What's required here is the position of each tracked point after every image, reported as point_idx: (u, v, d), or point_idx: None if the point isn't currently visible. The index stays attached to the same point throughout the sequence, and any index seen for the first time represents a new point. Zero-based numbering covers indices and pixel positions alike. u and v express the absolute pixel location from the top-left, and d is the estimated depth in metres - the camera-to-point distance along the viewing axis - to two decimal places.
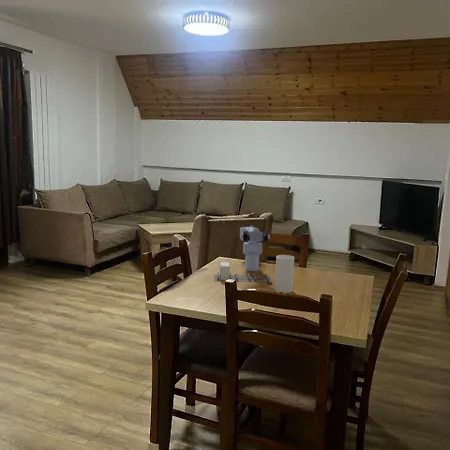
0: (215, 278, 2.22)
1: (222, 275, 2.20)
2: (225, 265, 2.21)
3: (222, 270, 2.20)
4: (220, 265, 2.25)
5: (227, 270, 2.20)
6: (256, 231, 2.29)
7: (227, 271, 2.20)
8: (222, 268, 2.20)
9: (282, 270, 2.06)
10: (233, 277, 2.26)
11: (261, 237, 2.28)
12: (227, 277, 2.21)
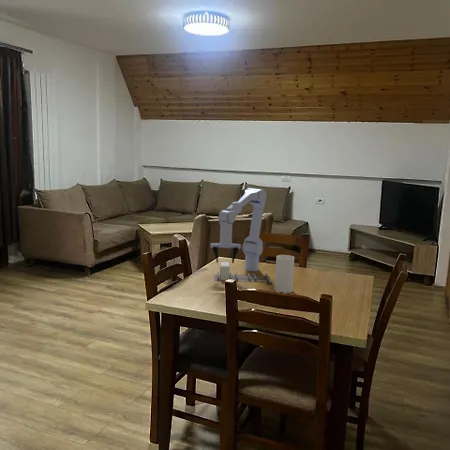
0: (215, 278, 2.22)
1: (222, 275, 2.20)
2: (225, 265, 2.21)
3: (222, 270, 2.20)
4: (220, 265, 2.25)
5: (227, 270, 2.20)
6: (226, 246, 2.20)
7: (227, 271, 2.20)
8: (222, 268, 2.20)
9: (282, 270, 2.06)
10: (233, 277, 2.26)
11: (231, 247, 2.23)
12: (227, 277, 2.21)
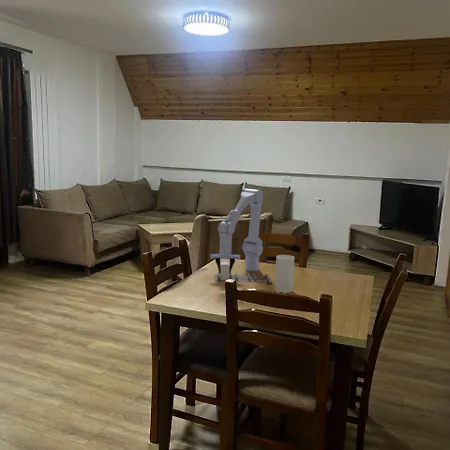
0: (215, 278, 2.22)
1: (222, 275, 2.20)
2: (225, 265, 2.21)
3: (222, 270, 2.20)
4: (220, 265, 2.25)
5: (227, 270, 2.20)
6: (226, 257, 2.20)
7: (227, 271, 2.20)
8: (222, 268, 2.20)
9: (282, 270, 2.06)
10: (233, 277, 2.26)
11: None
12: (227, 277, 2.21)
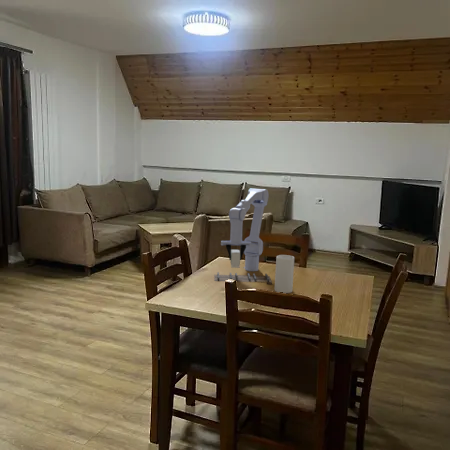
0: (215, 278, 2.22)
1: (233, 262, 2.20)
2: (236, 252, 2.20)
3: (233, 257, 2.19)
4: None
5: (238, 257, 2.19)
6: None
7: (238, 258, 2.19)
8: (233, 255, 2.19)
9: (282, 270, 2.06)
10: (233, 277, 2.26)
11: None
12: (238, 264, 2.20)
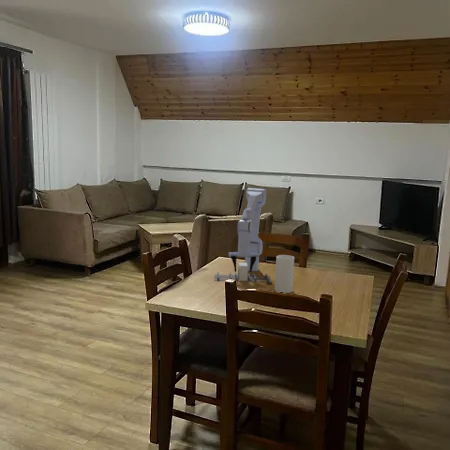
0: (215, 278, 2.22)
1: (241, 275, 2.21)
2: (243, 265, 2.22)
3: (241, 270, 2.20)
4: (238, 265, 2.26)
5: (246, 270, 2.20)
6: (245, 255, 2.21)
7: (246, 271, 2.21)
8: (241, 268, 2.20)
9: (282, 270, 2.06)
10: (233, 277, 2.26)
11: (249, 256, 2.24)
12: (246, 277, 2.21)
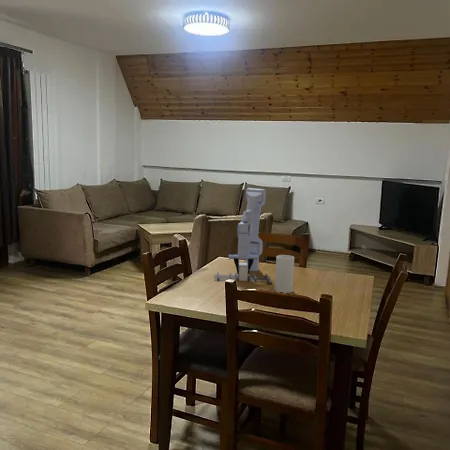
0: (215, 278, 2.22)
1: (241, 275, 2.21)
2: (243, 265, 2.22)
3: (241, 270, 2.20)
4: None
5: (246, 270, 2.20)
6: None
7: (246, 271, 2.21)
8: (241, 268, 2.20)
9: (282, 270, 2.06)
10: (233, 277, 2.26)
11: None
12: (246, 277, 2.21)
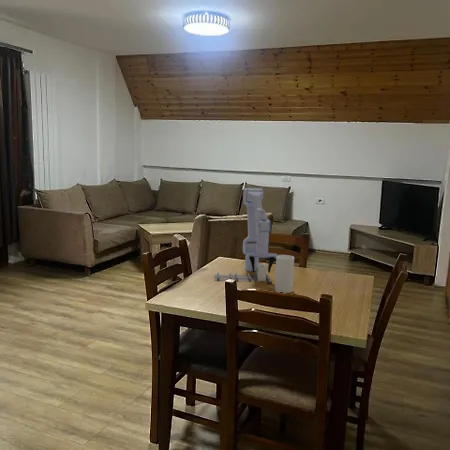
0: (215, 278, 2.22)
1: (259, 276, 2.21)
2: (262, 266, 2.22)
3: (259, 271, 2.21)
4: (256, 266, 2.26)
5: (264, 271, 2.21)
6: None
7: (264, 272, 2.21)
8: (259, 269, 2.20)
9: (282, 270, 2.06)
10: (233, 277, 2.26)
11: None
12: (264, 278, 2.21)
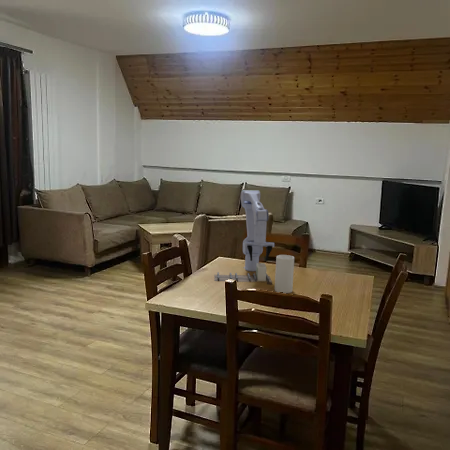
0: (215, 278, 2.22)
1: (259, 276, 2.21)
2: (262, 266, 2.22)
3: (259, 271, 2.21)
4: (256, 266, 2.26)
5: (264, 271, 2.21)
6: None
7: (264, 272, 2.21)
8: (259, 269, 2.20)
9: (282, 270, 2.06)
10: (233, 277, 2.26)
11: None
12: (264, 278, 2.21)
